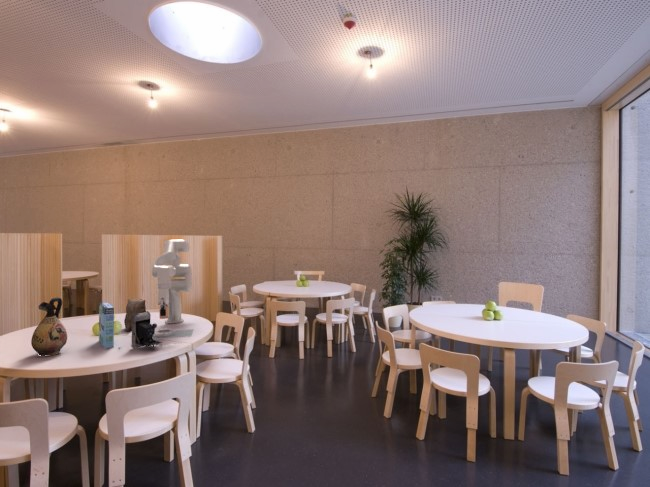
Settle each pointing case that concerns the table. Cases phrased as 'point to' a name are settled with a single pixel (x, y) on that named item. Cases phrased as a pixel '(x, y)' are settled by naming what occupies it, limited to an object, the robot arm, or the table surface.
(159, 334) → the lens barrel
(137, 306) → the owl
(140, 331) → the vintage camera
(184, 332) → the board
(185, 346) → the table surface
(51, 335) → the ceramic jug
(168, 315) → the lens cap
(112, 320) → the gum box
